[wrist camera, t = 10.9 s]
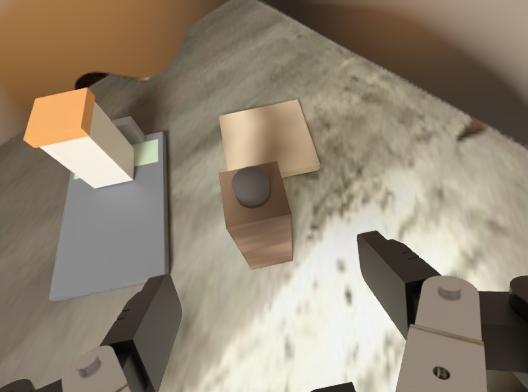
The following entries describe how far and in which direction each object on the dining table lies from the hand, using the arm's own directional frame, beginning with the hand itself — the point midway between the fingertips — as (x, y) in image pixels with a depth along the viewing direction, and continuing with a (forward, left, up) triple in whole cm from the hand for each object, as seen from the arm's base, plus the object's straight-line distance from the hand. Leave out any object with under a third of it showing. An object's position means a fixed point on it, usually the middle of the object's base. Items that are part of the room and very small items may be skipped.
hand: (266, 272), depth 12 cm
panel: (-14, +12, -12) cm, 22 cm away
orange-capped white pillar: (-14, +16, -11) cm, 24 cm away
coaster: (+2, +16, -12) cm, 20 cm away
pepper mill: (0, +5, -12) cm, 13 cm away
